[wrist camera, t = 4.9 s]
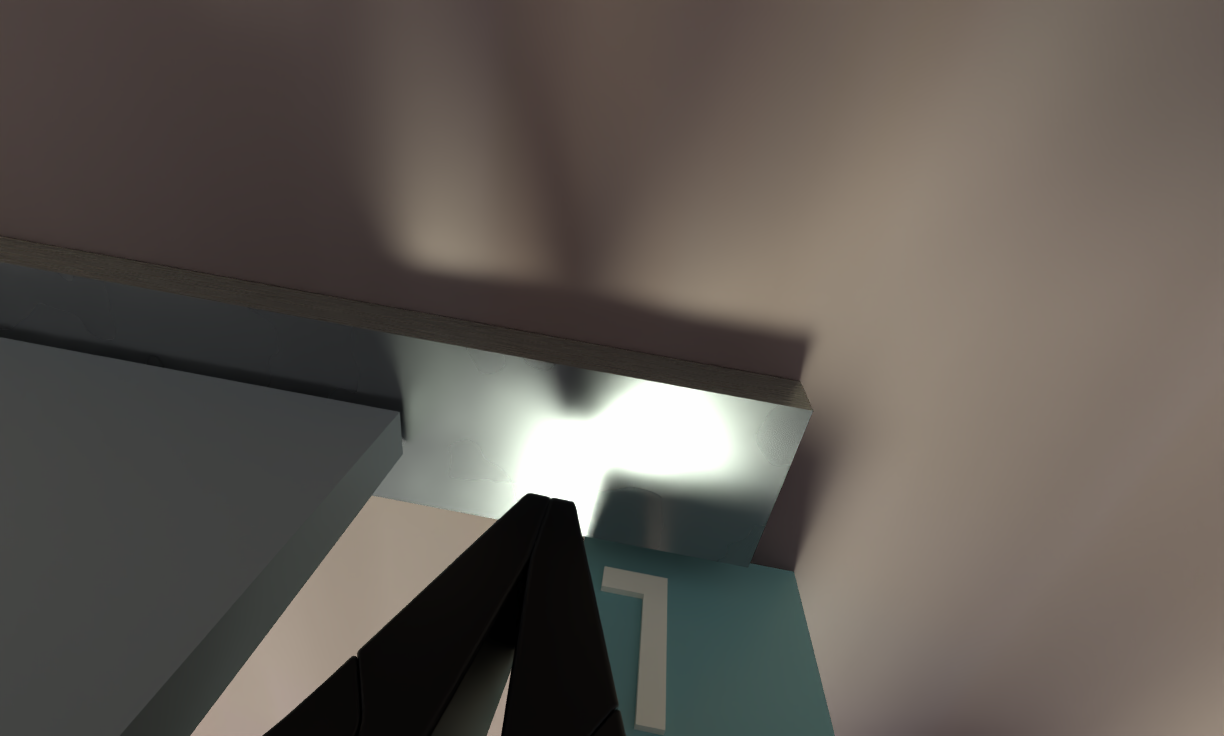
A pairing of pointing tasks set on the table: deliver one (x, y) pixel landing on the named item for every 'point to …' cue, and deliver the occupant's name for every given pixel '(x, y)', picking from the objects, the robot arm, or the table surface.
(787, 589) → the cube
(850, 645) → the table surface
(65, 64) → the table surface
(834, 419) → the table surface
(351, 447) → the screen
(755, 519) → the rail
